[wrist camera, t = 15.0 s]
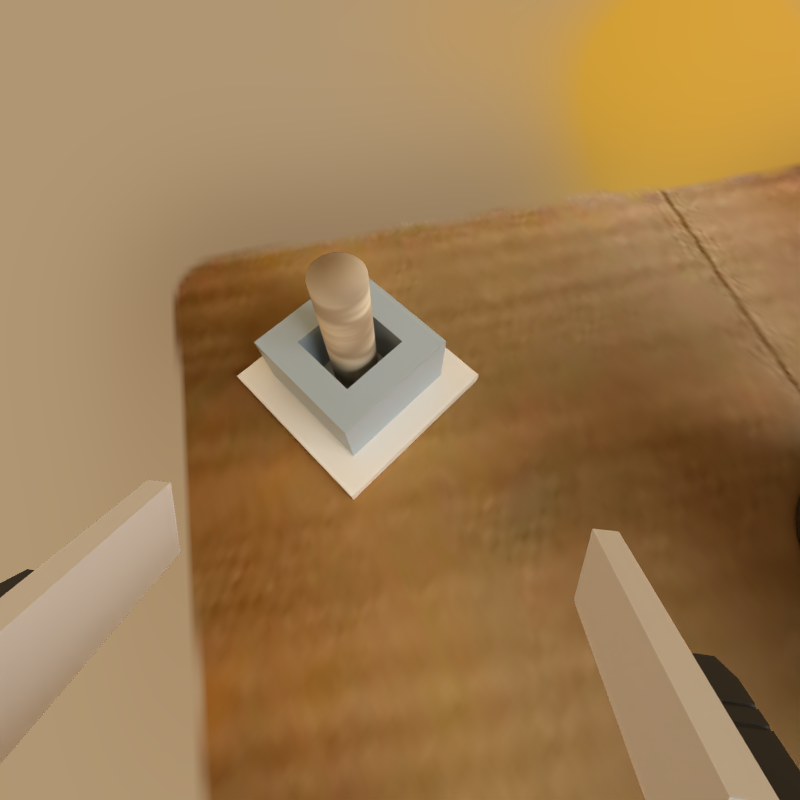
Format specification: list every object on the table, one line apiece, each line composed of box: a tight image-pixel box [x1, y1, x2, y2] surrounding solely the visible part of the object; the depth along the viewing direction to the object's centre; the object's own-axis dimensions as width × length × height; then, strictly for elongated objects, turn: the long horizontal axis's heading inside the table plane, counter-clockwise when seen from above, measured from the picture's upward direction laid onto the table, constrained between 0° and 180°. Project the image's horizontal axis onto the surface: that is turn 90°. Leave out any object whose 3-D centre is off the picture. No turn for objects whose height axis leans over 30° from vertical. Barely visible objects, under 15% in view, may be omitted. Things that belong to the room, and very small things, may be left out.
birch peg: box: [305, 252, 378, 389], centre depth 34 cm, size 4×4×14 cm
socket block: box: [237, 277, 478, 500], centre depth 38 cm, size 16×16×7 cm
